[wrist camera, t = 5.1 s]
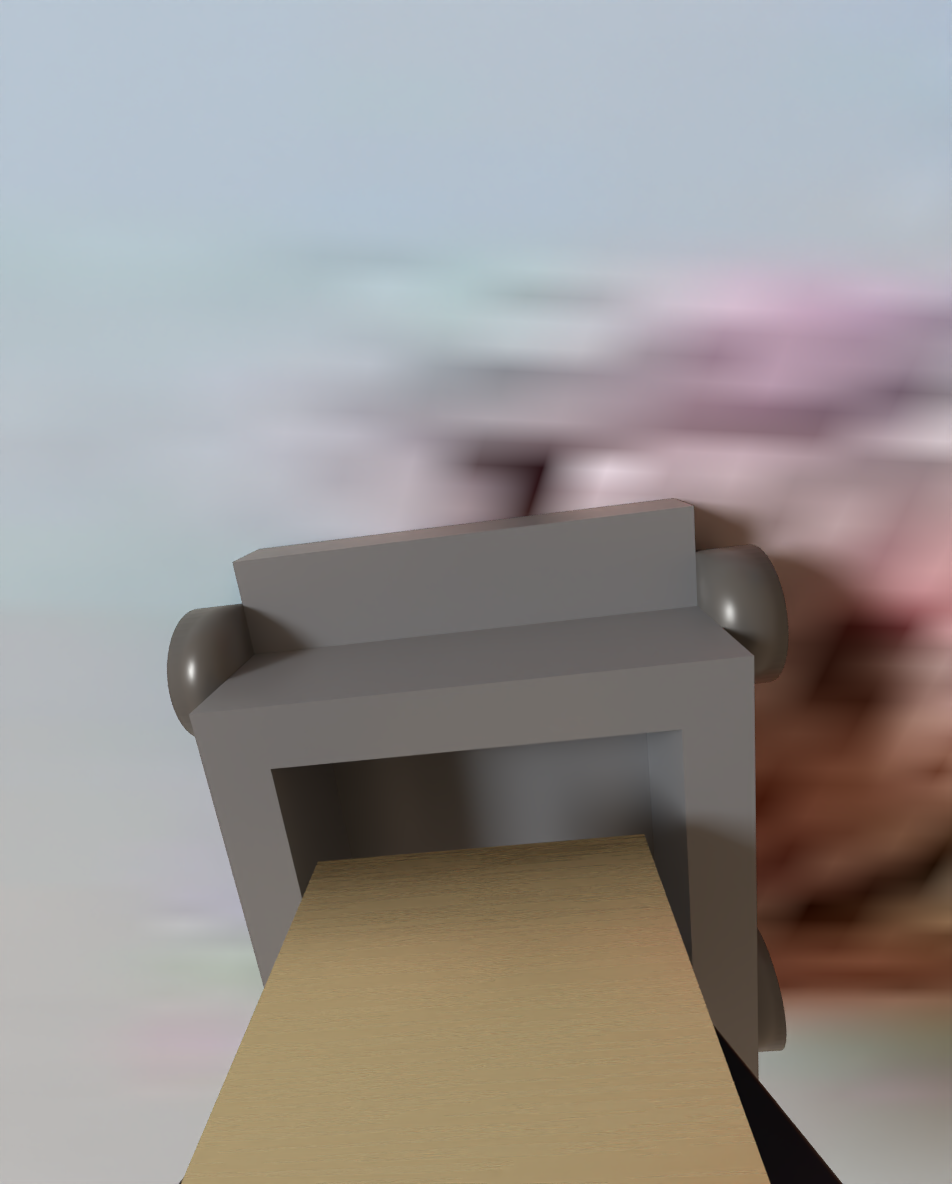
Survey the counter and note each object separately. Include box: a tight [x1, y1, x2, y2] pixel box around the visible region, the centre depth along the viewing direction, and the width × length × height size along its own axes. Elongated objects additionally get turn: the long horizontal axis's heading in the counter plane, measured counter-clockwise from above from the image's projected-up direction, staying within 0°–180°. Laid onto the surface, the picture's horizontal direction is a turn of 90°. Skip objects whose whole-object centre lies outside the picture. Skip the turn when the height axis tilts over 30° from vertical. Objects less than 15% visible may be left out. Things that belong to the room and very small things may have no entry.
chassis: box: [167, 498, 788, 1079], centre depth 11 cm, size 12×10×4 cm
